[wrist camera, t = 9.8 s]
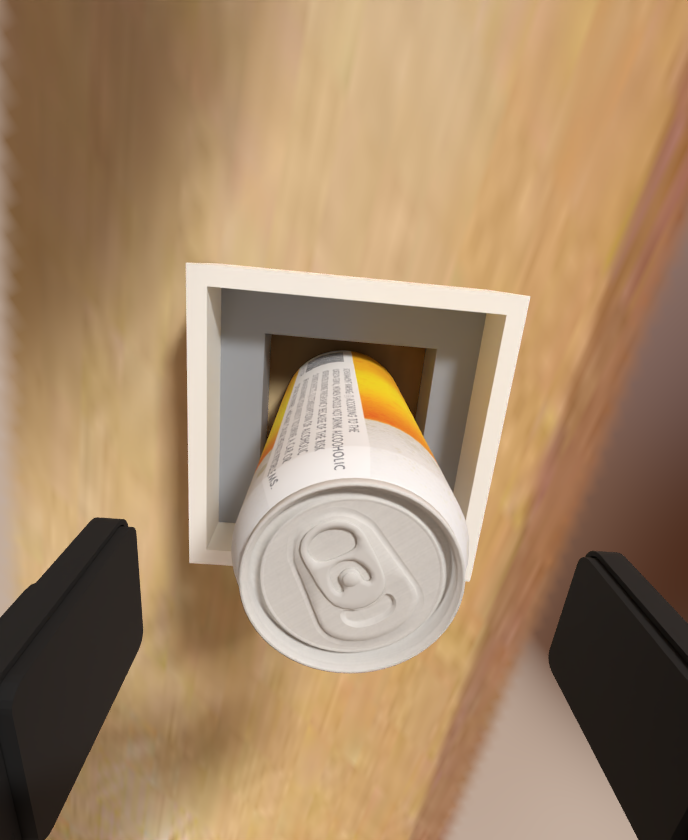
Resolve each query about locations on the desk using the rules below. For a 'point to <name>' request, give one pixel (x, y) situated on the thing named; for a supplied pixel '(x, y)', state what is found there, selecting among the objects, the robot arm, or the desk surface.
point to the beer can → (349, 525)
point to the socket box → (349, 321)
